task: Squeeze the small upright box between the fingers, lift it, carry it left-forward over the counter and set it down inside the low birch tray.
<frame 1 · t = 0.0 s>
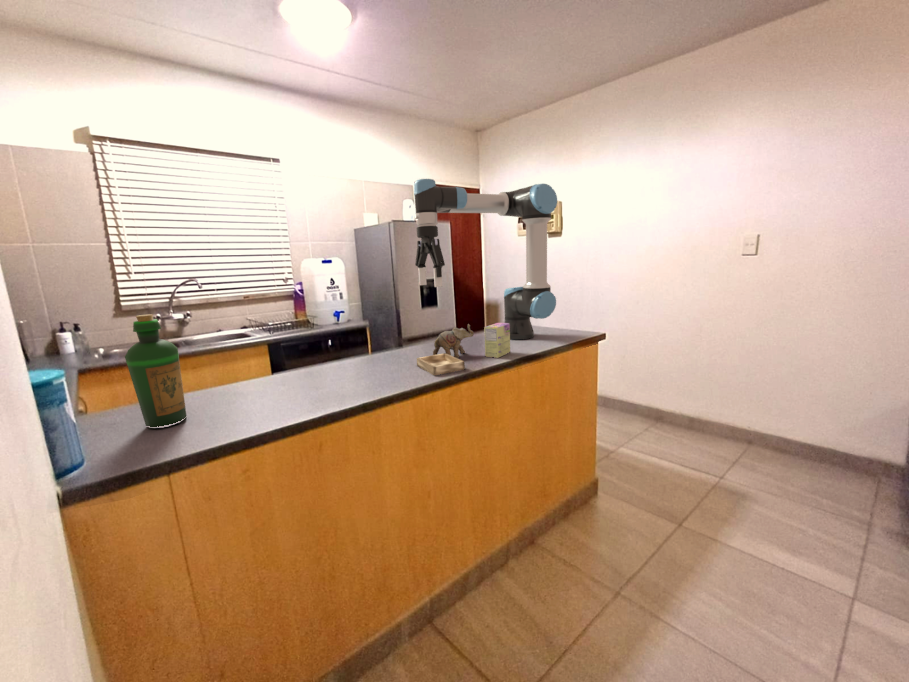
hand: (430, 286, 146), 28 cm above the counter, tool pointing down, fingers open, 13 cm apart
bottle: (167, 424, 102), on the counter
box: (497, 355, 155), on the counter
tray: (440, 367, 140), on the counter
figurine: (453, 356, 156), on the counter
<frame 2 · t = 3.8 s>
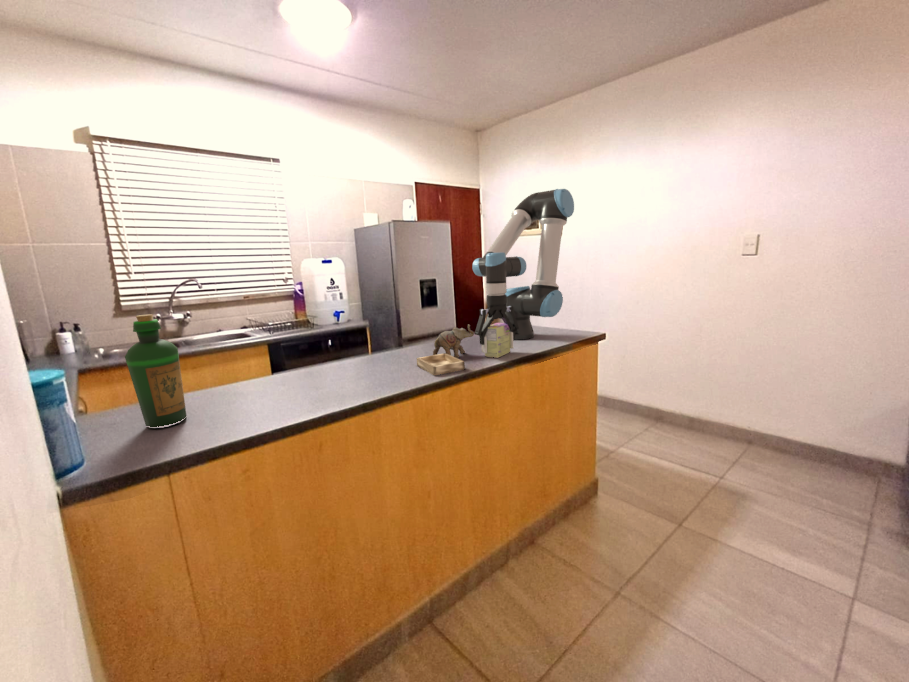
hand: (497, 350, 155), 2 cm above the counter, tool pointing down, fingers closed on box, 11 cm apart
box: (497, 355, 155), on the counter, touching gripper
everything else where it was.
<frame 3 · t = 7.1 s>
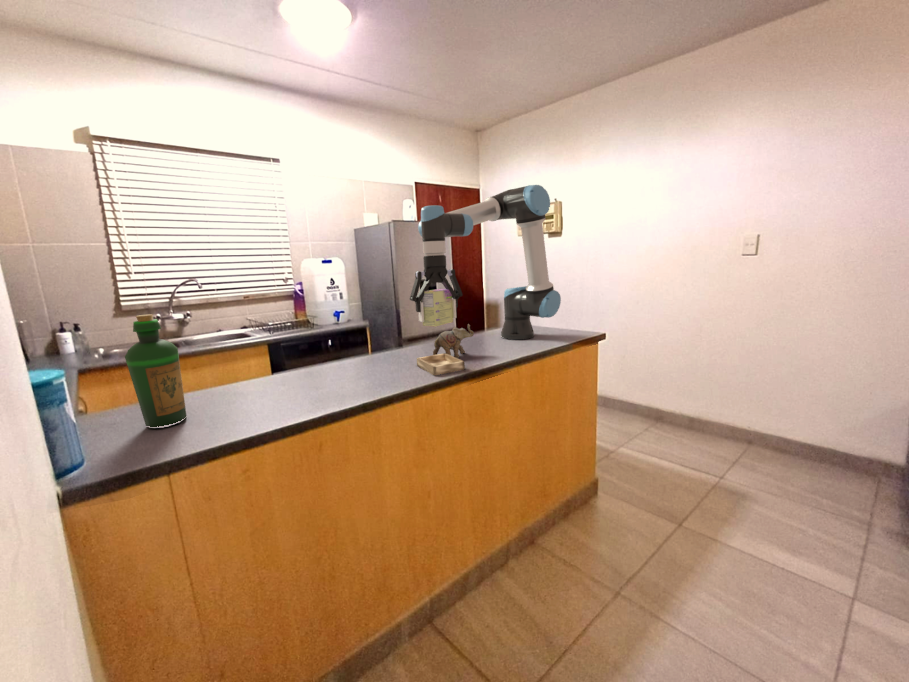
hand: (437, 319, 137), 17 cm above the counter, tool pointing down, fingers closed on box, 11 cm apart
box: (438, 324, 137), point 15 cm above the counter, touching gripper
everything else where it was.
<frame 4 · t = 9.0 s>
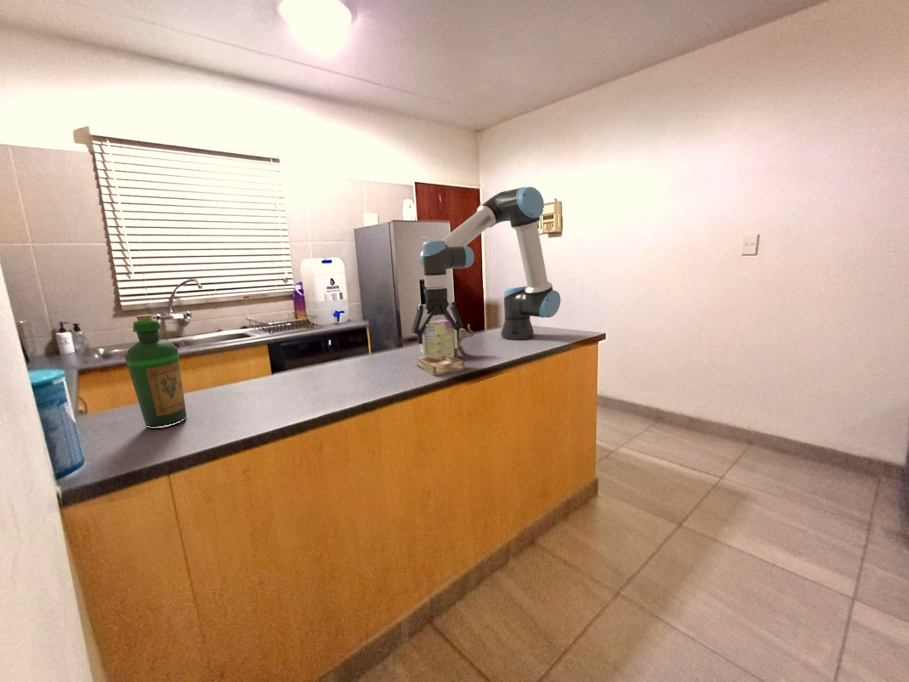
hand: (439, 350, 139), 6 cm above the counter, tool pointing down, fingers closed on box, 11 cm apart
box: (439, 355, 139), point 5 cm above the counter, touching gripper
everything else where it was.
when the fingers open (5 cm above the counter, at t = 10.5 s): box stays where it is, resting on tray.
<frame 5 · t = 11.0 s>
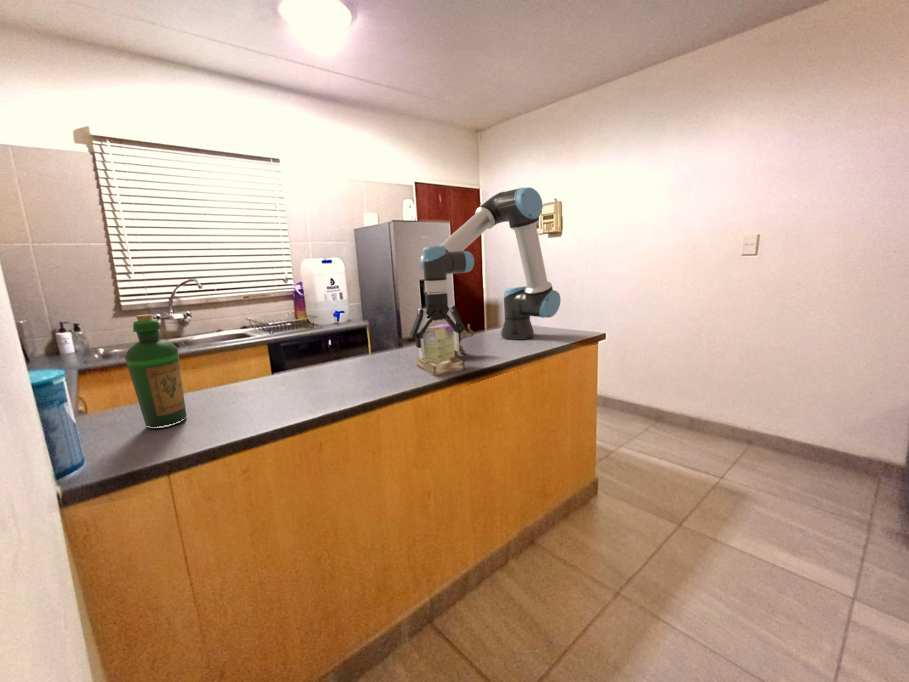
hand: (439, 353, 139), 5 cm above the counter, tool pointing down, fingers open, 13 cm apart
box: (439, 360, 140), point 3 cm above the counter, touching tray
everything else where it was.
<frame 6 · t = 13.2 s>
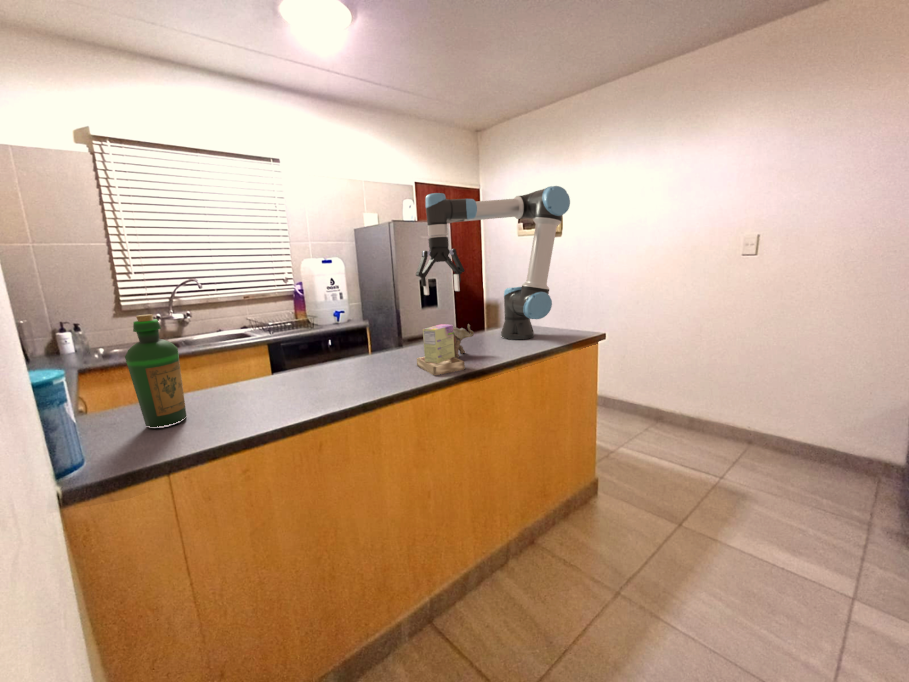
hand: (442, 292, 155), 24 cm above the counter, tool pointing down, fingers open, 13 cm apart
nothing on the counter moved.
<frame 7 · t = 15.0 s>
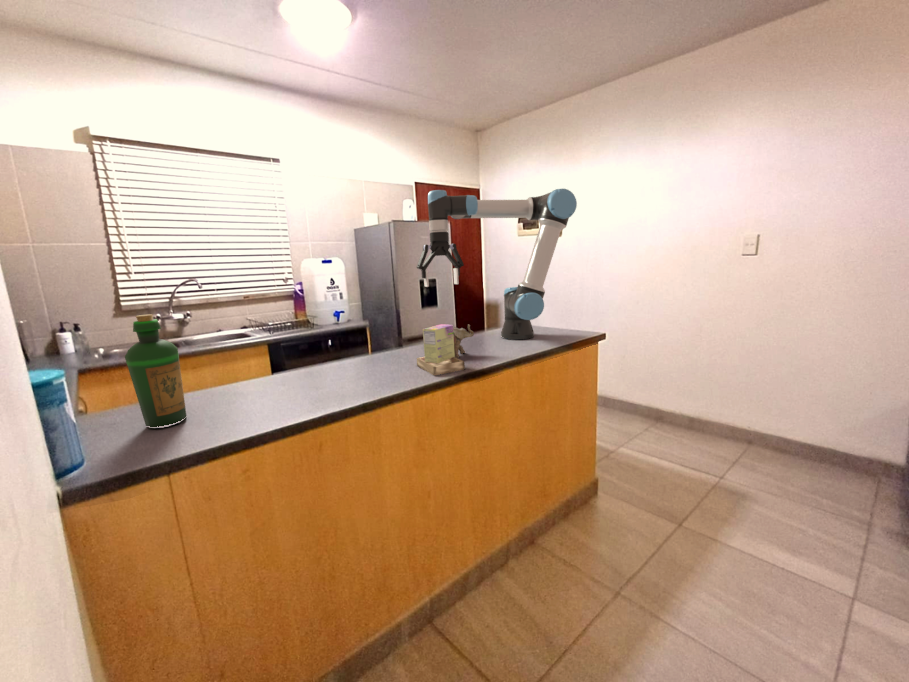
hand: (441, 285, 163), 27 cm above the counter, tool pointing down, fingers open, 13 cm apart
nothing on the counter moved.
at the end: box inside the target area on the tray (0.0 cm from its centre), point 2.8 cm above the tray's base; the gripper is holding nothing; box tilted 0° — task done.
